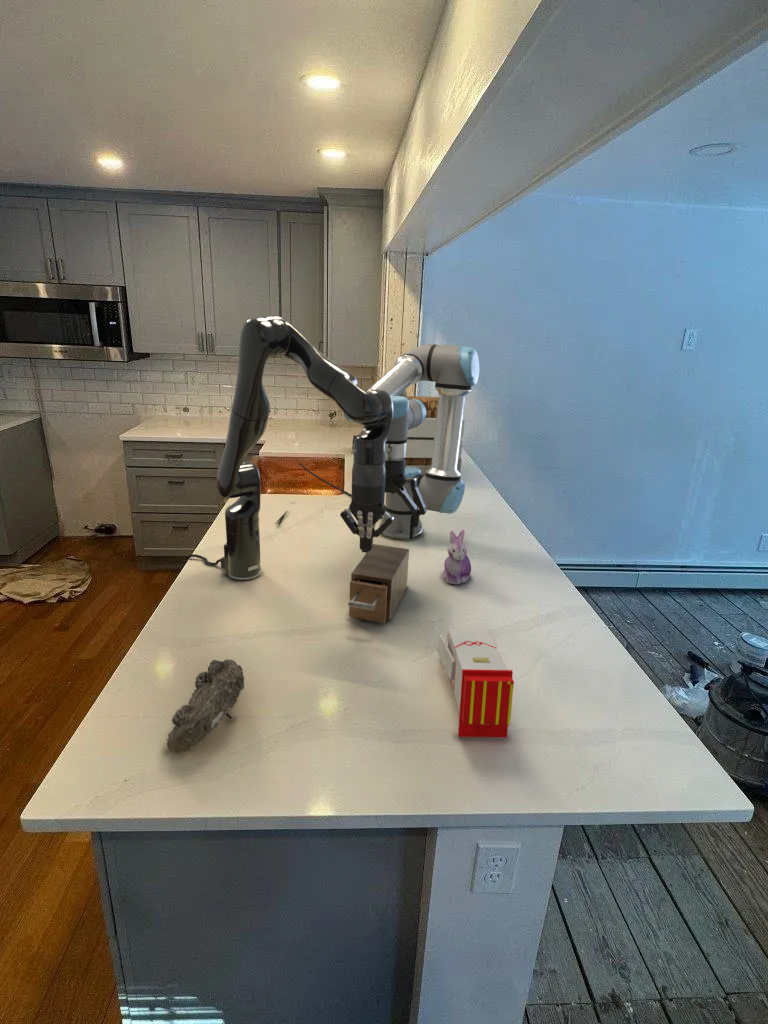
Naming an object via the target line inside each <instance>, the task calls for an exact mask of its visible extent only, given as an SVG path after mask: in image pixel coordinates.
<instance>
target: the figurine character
mask: <svg viewBox="0 0 768 1024" xmlns="http://www.w3.org/2000/svg"><path fill="white" fill-rule="evenodd" d="M356 436H357V435H353V437H352V444H351V445H352V446H351V450H352V451H354V440H355V438H356Z"/></svg>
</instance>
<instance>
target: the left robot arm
mask: <svg viewBox="0 0 768 1024" xmlns="http://www.w3.org/2000/svg"><path fill="white" fill-rule="evenodd" d="M240 331H241V332H240V338H239V348H238V349H239V350H238V365H237V375H236V381H235V382H236V383H235V390H234V394H233V400H232V404H231V410H230V415H229V423H228V429H227V434H226V439H225V443H224V448H223V452H222V455H221V458H220V462H219V465H218V469H217V473H216V474H217V475H216V487H217V491H218V493H219V494H220V496H221V497H222V498H225V499H236V498H238V499H237V500H235V502H233V503H232V504H231V505H228V506H227V508H226V509H225V511H224V520H225V538H226V542H225V543H223V556H222V557H221V558H219V559H217V560H216V561H215V562H211V561H208V558H207V557H204V556H203V555H201V554H200V555H199V554H194V553H193V554H189V555H187V556H186V557H185V559H187V560H189V559H190V558H198V559H200V560H203V561H204V563H205V564H206V565H209V566H217V565H218V564H219V563H220V569H222V570H224V573H225V576H228V577H229V578H230V579H232V580H236V581H250V580H253V579H256V578H258V577H260V575H261V574H262V566H261V538H260V537H261V533H260V512H261V493H262V492H261V491H262V482H261V473H260V470H259V468H258V466H257V465H256V464H255V463H254V462H253V461H243V460H244V459H245V457H246V456H247V455H248V454H249V453H250V451H251V450H252V449H253V447H255V445H257V443H258V442H259V441H260V439H261V438H262V437H263V435H264V434H265V432H266V429H267V426H268V421H269V416H270V411H271V404H270V399H269V397H268V394H267V392H266V389H265V387H264V383H263V377H264V370H265V367H266V364H267V361H268V359H273V358H279V357H285V358H287V359H289V360H291V361H293V362H295V363H296V364H298V365H299V366H300V368H301V369H302V370H303V373H304V375H305V377H306V378H307V380H308V381H309V383H310V384H311V385H312V387H314V388H315V389H316V390H318V391H319V392H320V393H322V394H323V395H325V396H326V397H328V398H329V399H330V400H332V401H333V402H335V403H336V405H337V406H338V408H340V410H341V411H342V412H343V414H344V413H345V414H346V415H347V416H348V417H349V418H350V419H351V420H352V421H354V422H353V423H356V424H357V425H361V426H363V428H362V430H361V432H360V433H358V434H357V435H356V438H355V440H354V450H353V460H352V461H353V463H352V469H351V494H352V496H350V497H351V498H350V500H351V501H350V503H349V505H348V508H345V509H343V510H342V511H341V512H340V514H339V515H340V518H341V519H342V521H343V522H344V523H345V525H346V526H347V528H348V529H349V531H350V532H351V533H352V534H353V535H357V536H358V537H359V550H361V553H365V554H366V553H368V552H369V551H371V549H372V547H373V544H374V538H379V537H380V536H381V533H382V532H383V531H384V530H385V529H386V528H387V527H388V526H389V525H390V524H391V523H392V522H393V520H394V519H395V517H394V516H393V515H391V516H390V515H389V514H388V513H387V512H386V507H385V504H386V503H385V501H386V493H385V481H386V468H385V452H386V440H387V437H388V434H389V430H390V426H391V423H392V418H393V410H394V409H393V402H392V399H391V397H390V395H389V394H388V393H387V392H386V391H385V390H382V389H374V390H368V389H367V390H368V391H366V390H364V389H362V388H360V387H359V381H358V379H357V378H356V376H355V375H353V374H352V373H351V372H350V371H348V370H347V369H345V368H343V367H342V366H341V365H339V364H338V363H337V362H334V361H333V360H331V359H330V358H328V356H326V355H325V354H323V353H322V352H321V351H320V350H319V349H318V348H316V347H315V346H314V345H313V344H312V343H311V342H310V341H309V340H308V339H306V337H305V336H304V335H303V334H301V332H299V331H298V330H297V328H295V326H294V325H292V324H291V323H290V322H289V321H288V320H286V319H285V318H284V317H282V316H278V315H266V316H259V317H252V318H249V319H248V320H246V321H245V322H244V324H243V326H242V328H241V330H240ZM352 421H351V422H352ZM381 517H383V520H382V519H381ZM380 519H381V522H382V521H383V522H384V523H383V524H382V525H381V526H380V527H379V526H378V528H377V529H376V525H377V523H378V522H379V521H380Z"/></svg>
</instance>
